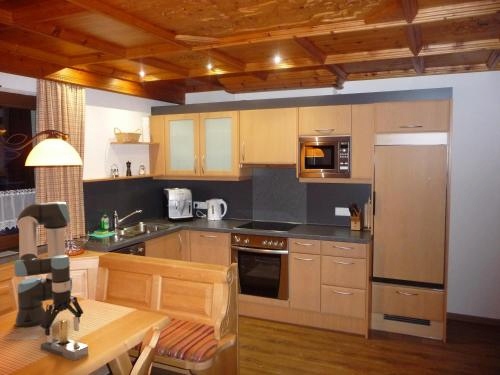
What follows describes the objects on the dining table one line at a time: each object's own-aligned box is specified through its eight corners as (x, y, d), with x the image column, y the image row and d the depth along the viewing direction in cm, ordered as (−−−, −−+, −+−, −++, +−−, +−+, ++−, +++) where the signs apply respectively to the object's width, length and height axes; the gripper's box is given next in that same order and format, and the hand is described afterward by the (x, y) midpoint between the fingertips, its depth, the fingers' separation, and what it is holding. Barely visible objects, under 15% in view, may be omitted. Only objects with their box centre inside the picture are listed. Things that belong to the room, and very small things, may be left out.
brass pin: (58, 352, 188) (57, 322, 187) (65, 349, 191) (63, 319, 190) (63, 353, 187) (62, 323, 186) (69, 350, 190) (68, 320, 189)
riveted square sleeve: (40, 348, 192) (40, 339, 192) (54, 342, 198) (54, 333, 198) (74, 360, 180) (74, 350, 180) (88, 354, 186) (87, 344, 186)
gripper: (40, 299, 174) (43, 348, 176) (90, 283, 196) (91, 327, 197) (30, 296, 178) (32, 345, 180) (79, 281, 200) (81, 324, 201)
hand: (63, 336), depth 188 cm, fingers open, 13 cm apart
